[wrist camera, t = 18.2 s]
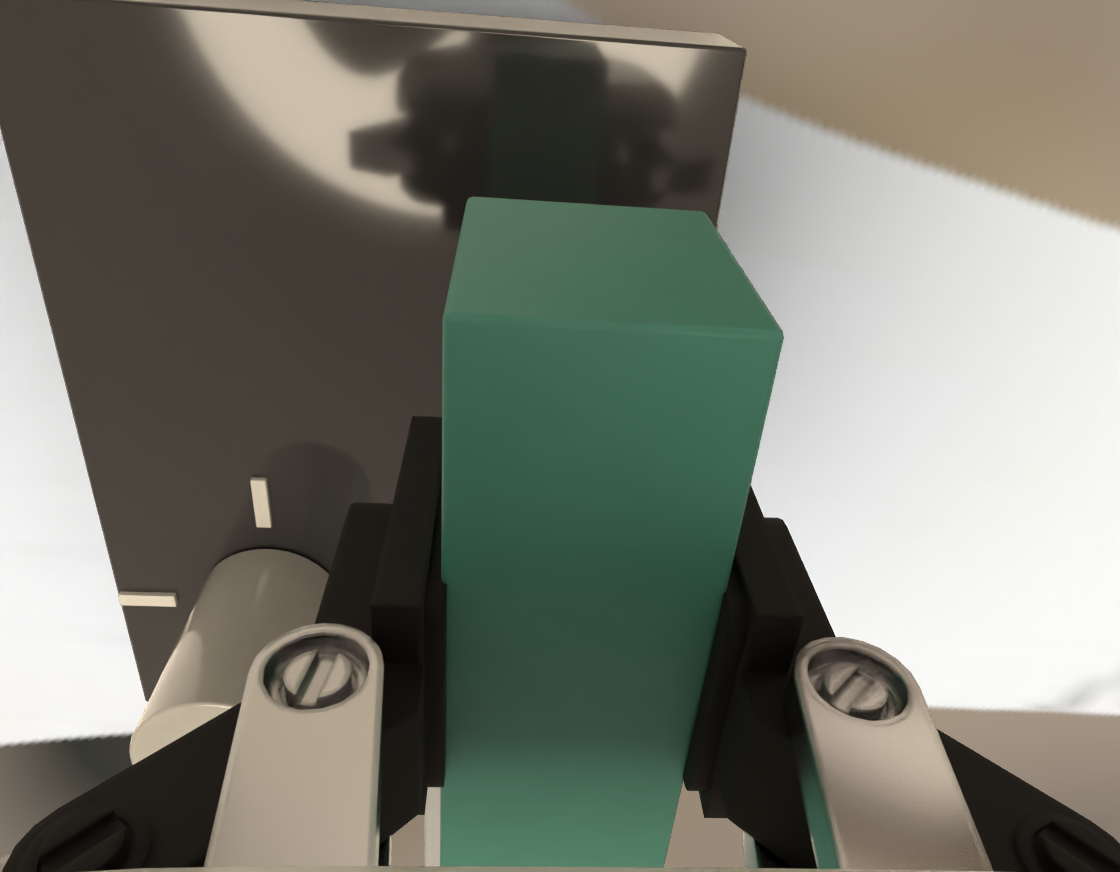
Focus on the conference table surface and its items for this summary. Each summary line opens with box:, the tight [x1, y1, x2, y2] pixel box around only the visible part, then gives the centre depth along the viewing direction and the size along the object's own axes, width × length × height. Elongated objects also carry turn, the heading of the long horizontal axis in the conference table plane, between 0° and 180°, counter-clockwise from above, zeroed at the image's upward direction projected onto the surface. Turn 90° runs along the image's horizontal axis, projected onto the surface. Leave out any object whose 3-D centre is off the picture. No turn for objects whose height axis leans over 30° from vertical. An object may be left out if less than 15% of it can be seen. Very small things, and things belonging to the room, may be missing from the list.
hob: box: [0, 0, 747, 702], centre depth 21 cm, size 18×14×3 cm
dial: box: [130, 549, 329, 765], centre depth 20 cm, size 4×4×5 cm
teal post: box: [424, 197, 784, 867], centre depth 12 cm, size 4×12×4 cm, turn 176°
